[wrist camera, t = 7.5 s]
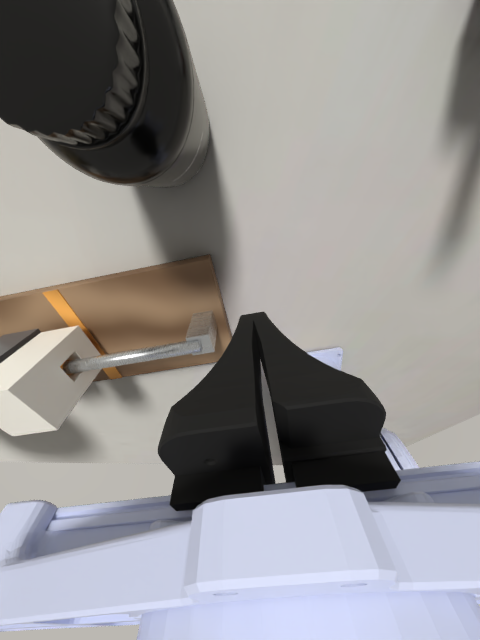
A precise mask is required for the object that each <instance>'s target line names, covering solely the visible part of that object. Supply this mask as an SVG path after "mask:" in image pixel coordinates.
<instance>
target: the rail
mask: <svg viewBox="0 0 480 640" xmlns="http://www.w3.org/2000/svg"><path fill="white" fill-rule="evenodd" d="M216 333H217V324H216V321H215V317H214V314H213V311H212V310H210V311H205V312H199V313H194V314H193V315H192V318H191V322H190V325H189V328H188V331H187V335H186V338H185V339H186V341H181V342H175V343H170V344H164V345H158V346H152V347H146V348H140V349H134V350H128V351H122V352H117V353H111V354H105V355H99V356H93V357H87V358H81V359H75V360H66V361H65V362H64V363H63V364H62V365H61V366H60V368H61V369H62V370H63V371H64V372H65V373H66V374H67V375H71V374H73V373H78V372H84V371H90V370H96V369H102V368H108V367H114V366H121V365H127V364H133V363H139V362H145V361H151V360H157V359H163V358H169V357H175V356H181V355H187V354H192V355H199V354H205V353H211V352H214V351H215V342H216Z"/></svg>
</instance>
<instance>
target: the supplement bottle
mask: <svg viewBox="0 0 480 640" xmlns="http://www.w3.org/2000/svg"><path fill="white" fill-rule="evenodd" d="M0 118H1V119H2V120H3V121H5V122H6V123H7V124H9V125H11V126H13V127H16V128H19V129H22V130H25V131H27V132H29V133H30V134H32V135H35V136H37V137H38V138H39V139H40V140H41V141H42V142H43V143H44V144H45V145H46V146H47V147H48V148H49V149H50V150H51V151H52V152H54V153H55V154H56V155H57V156H58V157H59V158H61V159H62V160H63V161H65V162H66V163H67V164H69V165H70V166H72V167H73V168H75V169H76V170H78V171H80V172H82V173H84V174H86V175H88V176H90V177H92V178H94V179H97V180H100V181H103V182H107V183H111V184H117V185H125V186H149V187H174V186H178V185H181V184H183V183H185V182H187V181H189V180H190V179H191V178H192V177H194V176H195V174H196V173H197V172H198V171H199V169H200V168H201V166H202V164H203V162H204V160H205V157H206V154H207V150H208V145H209V119H208V114H207V109H206V105H205V101H204V97H203V94H202V90H201V87H200V83H199V80H198V77H197V73H196V70H195V66H194V63H193V59H192V56H191V52H190V49H189V45H188V42H187V39H186V35H185V32H184V29H183V26H182V23H181V20H180V17H179V15H178V12H177V9H176V7H175V5H174V2H173V0H0Z"/></svg>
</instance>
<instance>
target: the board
mask: <svg viewBox="0 0 480 640" xmlns="http://www.w3.org/2000/svg"><path fill="white" fill-rule="evenodd" d="M210 310H212V311H213V314H214V317H215V321H216V324H217V333H216V342H215V351H214V352H211V353H205V354H199V355H192V354H187V355H181V356H175V357H169V358H163V359H157V360H151V361H145V362H139V363H133V364H127V365H121V366H114V367H108V368H102V369H101V370H100V372H99V373H98V374H97V376H96V377H95V379H94V380H93V381H92V382H94V381H101V380H107V379H117V378H122V377H126V376H132V375H138V374H144V373H151V372H157V371H163V370H169V369H176V368H182V367H188V366H195V365H201V364H207V363H213V362H218V360H219V359H220V358H221V356H222V355H223V353H224V351H225V350H226V348H227V346H228V344H229V343H230V341H231V339H232V334H231V331H230V327H229V323H228V319H227V316H226V312H225V308H224V304H223V301H222V297H221V293H220V289H219V286H218V282H217V278H216V274H215V270H214V267H213V263H212V259H211V255H210V254H209V255H204V256H199V257H194V258H189V259H184V260H180V261H175V262H170V263H165V264H160V265H155V266H150V267H145V268H140V269H135V270H130V271H125V272H120V273H115V274H110V275H105V276H100V277H95V278H90V279H85V280H80V281H75V282H70V283H65V284H60V285H56V286H51V287H46V288H41V289H36V290H31V291H26V292H21V293H16V294H11V295H6V296H1V297H0V337H1V336H2V335H6V334H11V333H16V332H22V331H27V330H33V329H39V330H40V331H41V332H46V331H51V330H57V329H62V328H67V327H73V326H78V325H79V327H80V328H81V329H82V331H83V332H84V333H85V335H86V336H87V337H88V339H89V340H90V341H91V343H92V344H93V345H94V347H95V348H96V349H97V350H98V352H99V353H100V354H101V355H105V354H111V353H117V352H122V351H128V350H134V349H140V348H146V347H152V346H158V345H164V344H170V343H175V342H181V341H186V339H185V338H186V335H187V331H188V328H189V325H190V322H191V318H192V315H193V314H194V313H199V312H205V311H210Z"/></svg>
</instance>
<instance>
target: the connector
mask: <svg viewBox="0 0 480 640" xmlns="http://www.w3.org/2000/svg"><path fill="white" fill-rule="evenodd" d="M40 333H41V331H40V330H39V329H33V330H27V331H22V332H16V333H11V334H6V335H2V336H1V337H0V363H2V362H3V361H4V360H5V359H7V358H8V357H9V356H11V355H12V354H13V353H15V352H16V351H17V350H19V349H20V348H21V347H22V346H24V345H25V344H26V343H28V342H29V341H30V340H32V339H33V338H34V337H36V336H37V335H38V334H40Z"/></svg>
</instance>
